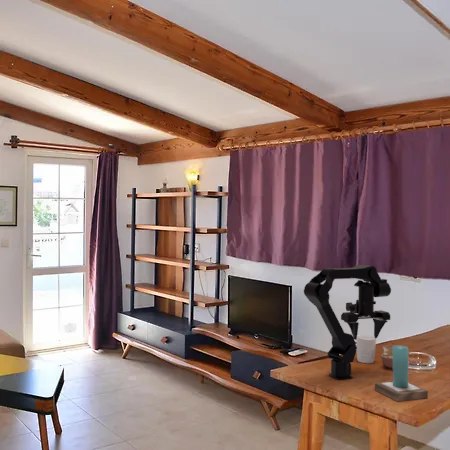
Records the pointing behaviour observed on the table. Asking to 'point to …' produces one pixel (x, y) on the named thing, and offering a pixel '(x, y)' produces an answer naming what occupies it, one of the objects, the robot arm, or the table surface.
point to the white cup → (365, 348)
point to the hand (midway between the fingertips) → (365, 338)
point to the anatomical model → (387, 356)
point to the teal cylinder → (400, 366)
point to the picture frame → (401, 391)
